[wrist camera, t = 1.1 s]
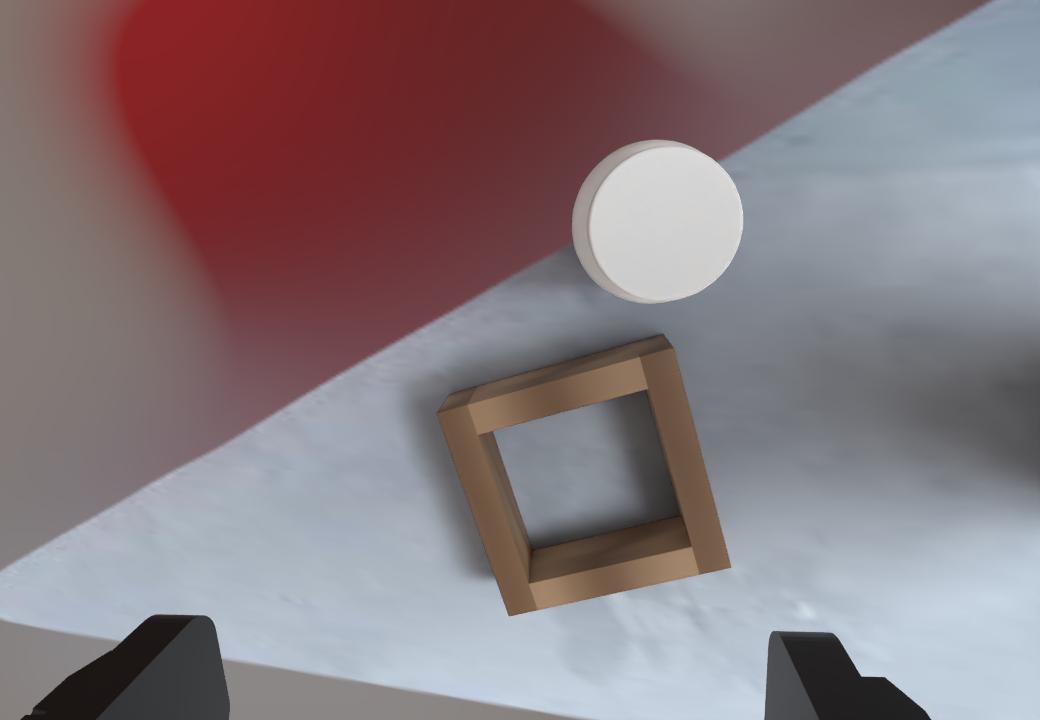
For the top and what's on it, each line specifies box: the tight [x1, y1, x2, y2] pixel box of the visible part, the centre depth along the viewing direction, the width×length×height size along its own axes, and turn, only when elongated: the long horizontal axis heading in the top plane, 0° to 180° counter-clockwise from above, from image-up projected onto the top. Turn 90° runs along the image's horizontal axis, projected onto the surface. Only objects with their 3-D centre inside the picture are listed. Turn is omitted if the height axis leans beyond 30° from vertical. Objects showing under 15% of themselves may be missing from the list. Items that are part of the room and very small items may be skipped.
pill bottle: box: [571, 140, 743, 304], centre depth 23 cm, size 6×6×10 cm
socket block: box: [437, 334, 731, 616], centre depth 30 cm, size 11×11×3 cm
